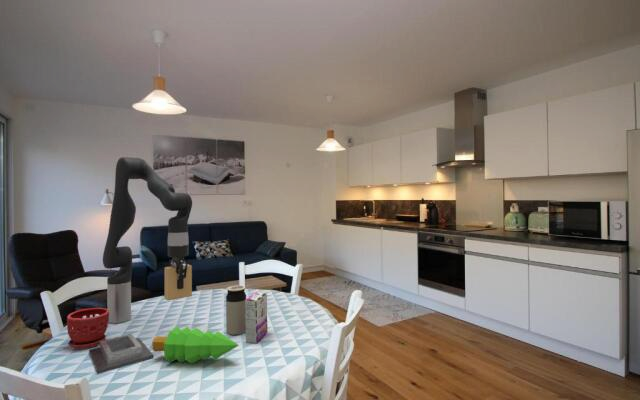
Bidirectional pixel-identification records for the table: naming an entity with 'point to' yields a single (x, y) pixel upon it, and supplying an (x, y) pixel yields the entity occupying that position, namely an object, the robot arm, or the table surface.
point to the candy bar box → (256, 317)
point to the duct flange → (119, 353)
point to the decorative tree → (192, 345)
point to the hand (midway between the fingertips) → (178, 287)
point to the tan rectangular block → (171, 284)
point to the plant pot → (87, 327)
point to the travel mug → (235, 310)
